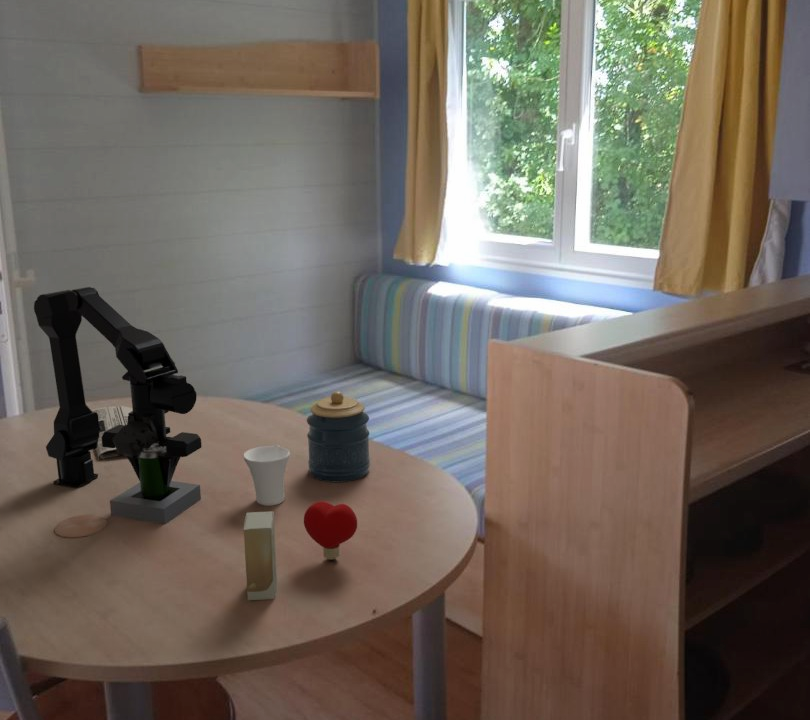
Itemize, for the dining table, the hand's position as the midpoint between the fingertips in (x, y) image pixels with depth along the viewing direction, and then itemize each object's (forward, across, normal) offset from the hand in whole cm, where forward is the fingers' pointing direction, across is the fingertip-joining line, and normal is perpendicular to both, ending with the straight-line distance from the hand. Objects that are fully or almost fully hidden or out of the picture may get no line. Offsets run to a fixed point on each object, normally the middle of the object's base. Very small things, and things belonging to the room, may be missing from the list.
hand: (154, 482), depth 170 cm
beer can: (+5, 0, 0) cm, 5 cm away
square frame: (+5, 0, 0) cm, 5 cm away
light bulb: (+5, +41, -9) cm, 42 cm away
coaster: (+5, -8, -12) cm, 15 cm away
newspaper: (+6, -34, +34) cm, 48 cm away
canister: (+5, +26, +28) cm, 39 cm away
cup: (+5, +19, +10) cm, 22 cm away
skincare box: (+5, +35, -22) cm, 42 cm away
